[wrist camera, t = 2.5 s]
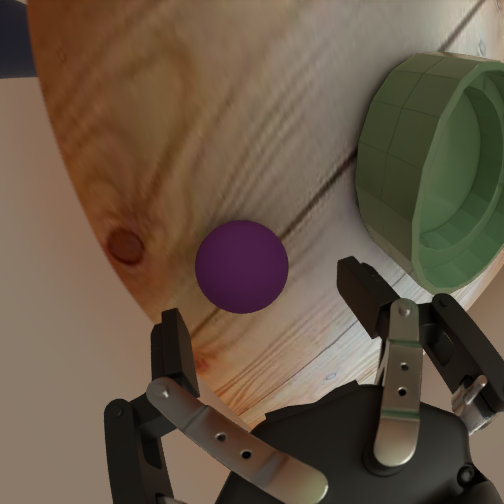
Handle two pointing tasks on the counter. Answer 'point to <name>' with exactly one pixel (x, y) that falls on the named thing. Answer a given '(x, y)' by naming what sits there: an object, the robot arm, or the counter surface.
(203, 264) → the ball
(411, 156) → the green bowl
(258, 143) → the counter surface
